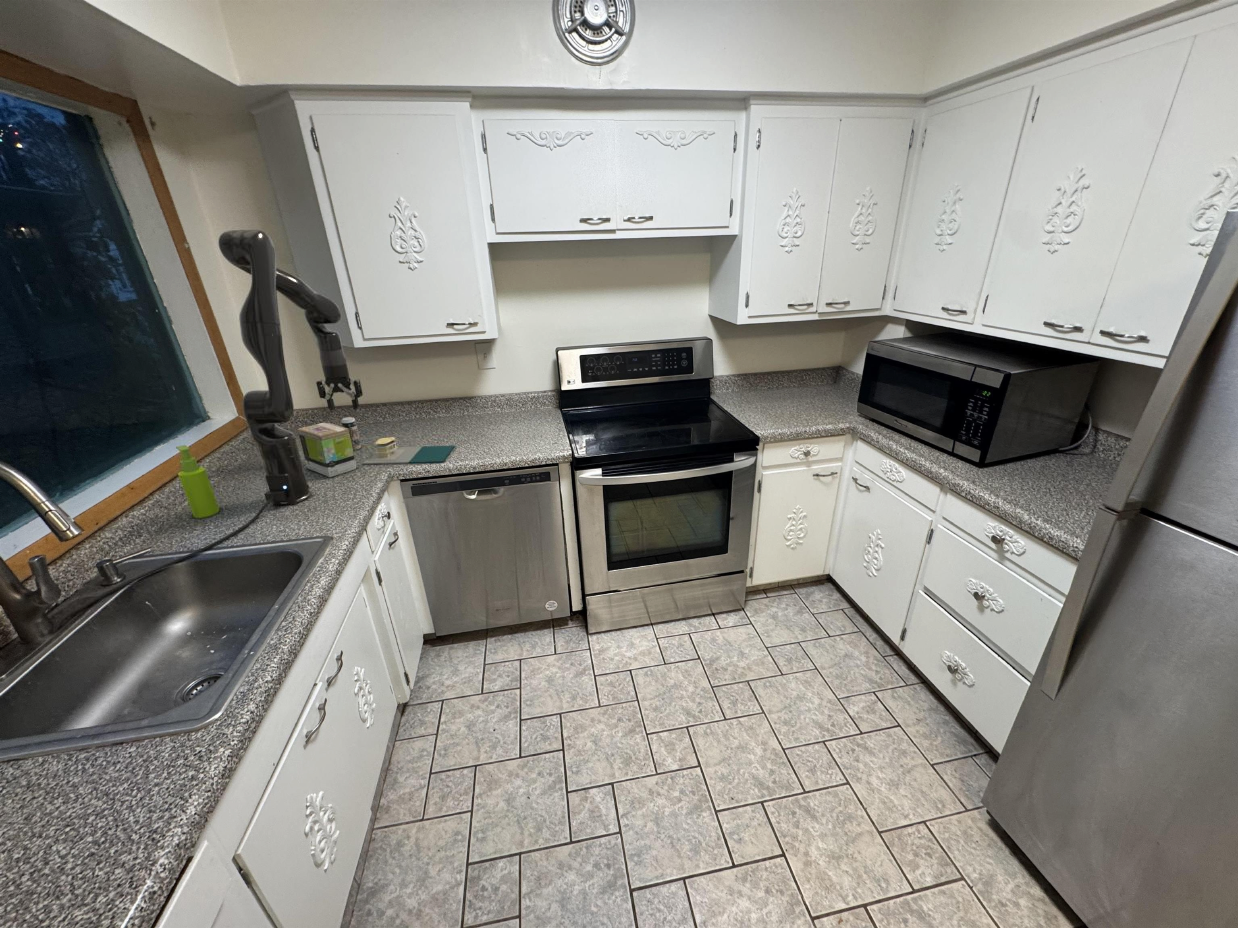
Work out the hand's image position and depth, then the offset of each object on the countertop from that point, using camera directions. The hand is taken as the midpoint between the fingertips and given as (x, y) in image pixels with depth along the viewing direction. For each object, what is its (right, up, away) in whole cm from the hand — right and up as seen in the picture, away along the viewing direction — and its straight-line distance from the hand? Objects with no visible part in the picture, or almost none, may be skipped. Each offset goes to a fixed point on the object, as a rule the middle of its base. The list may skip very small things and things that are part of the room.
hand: (344, 409), depth 177 cm
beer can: (-4, -14, +15) cm, 21 cm away
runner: (+20, -16, +8) cm, 27 cm away
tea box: (-2, -21, -3) cm, 22 cm away
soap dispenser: (-22, -33, -33) cm, 52 cm away
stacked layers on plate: (+12, -16, +7) cm, 21 cm away
